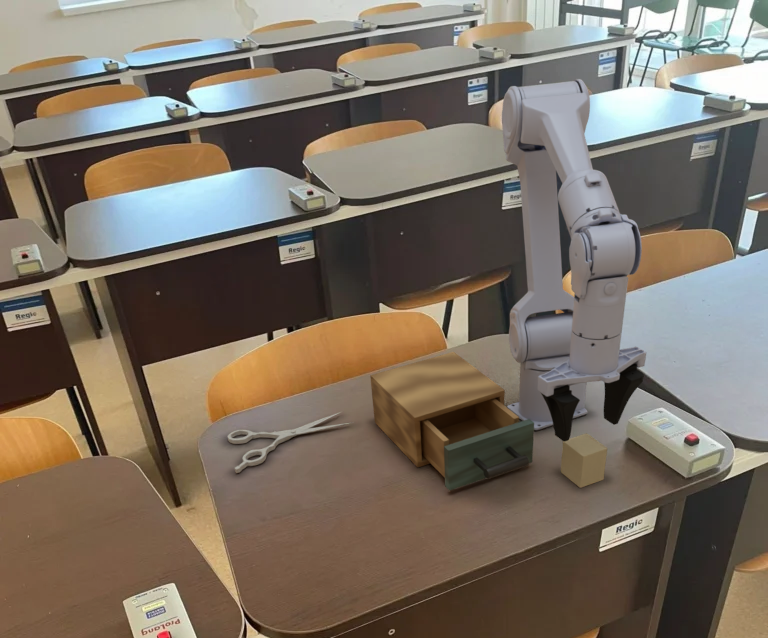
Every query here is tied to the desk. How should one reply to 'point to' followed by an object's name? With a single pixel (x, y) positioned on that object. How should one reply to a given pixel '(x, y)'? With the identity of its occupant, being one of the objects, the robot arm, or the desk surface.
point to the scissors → (280, 438)
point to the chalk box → (583, 460)
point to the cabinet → (426, 397)
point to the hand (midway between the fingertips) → (586, 429)
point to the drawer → (476, 442)
